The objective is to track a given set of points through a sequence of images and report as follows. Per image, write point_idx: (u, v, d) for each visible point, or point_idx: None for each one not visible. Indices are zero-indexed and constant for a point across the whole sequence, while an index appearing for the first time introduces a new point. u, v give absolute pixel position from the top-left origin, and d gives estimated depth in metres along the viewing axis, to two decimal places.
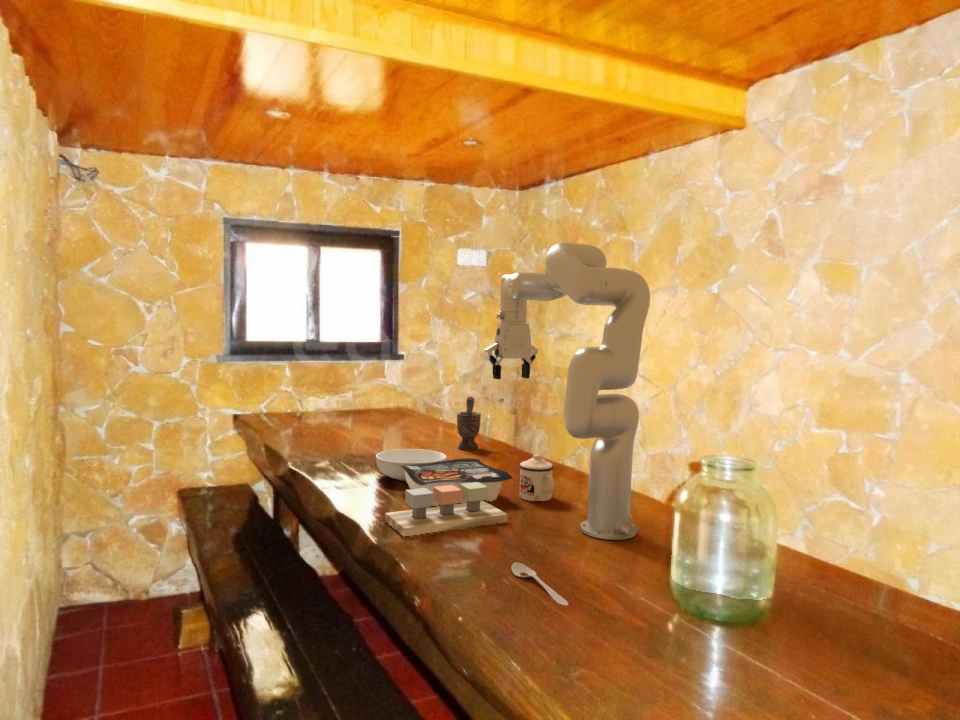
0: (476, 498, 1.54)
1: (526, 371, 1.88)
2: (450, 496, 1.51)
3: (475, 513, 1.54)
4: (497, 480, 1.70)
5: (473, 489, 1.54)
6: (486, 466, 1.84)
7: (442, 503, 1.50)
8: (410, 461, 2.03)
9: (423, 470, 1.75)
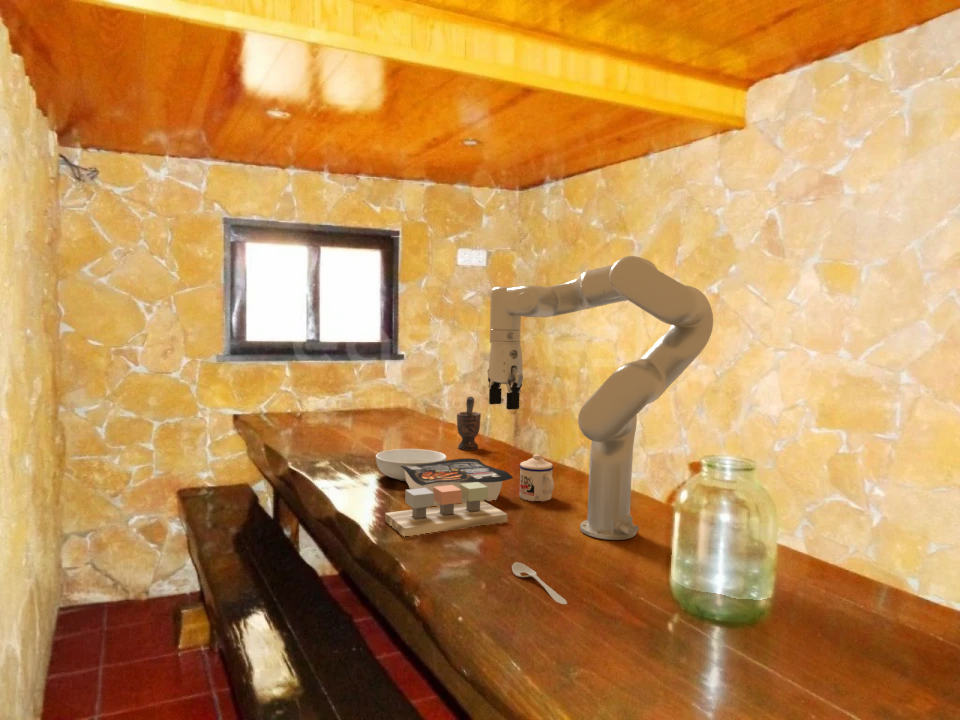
0: (476, 498, 1.54)
1: (499, 396, 1.66)
2: (450, 496, 1.51)
3: (475, 513, 1.54)
4: (497, 480, 1.70)
5: (473, 489, 1.54)
6: (486, 466, 1.84)
7: (442, 503, 1.50)
8: (410, 461, 2.03)
9: (423, 470, 1.75)
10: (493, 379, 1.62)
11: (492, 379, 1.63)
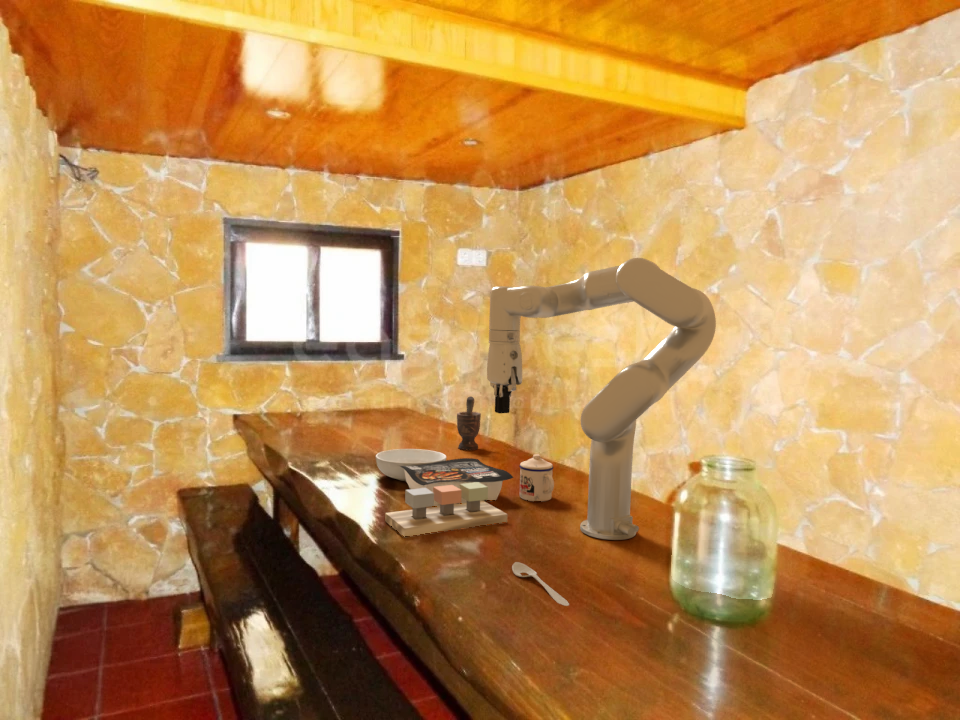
0: (476, 498, 1.54)
1: None
2: (450, 496, 1.51)
3: (475, 513, 1.54)
4: (498, 480, 1.70)
5: (473, 489, 1.54)
6: (486, 466, 1.84)
7: (442, 503, 1.50)
8: (410, 461, 2.03)
9: (423, 470, 1.75)
10: (491, 380, 1.60)
11: (490, 380, 1.61)
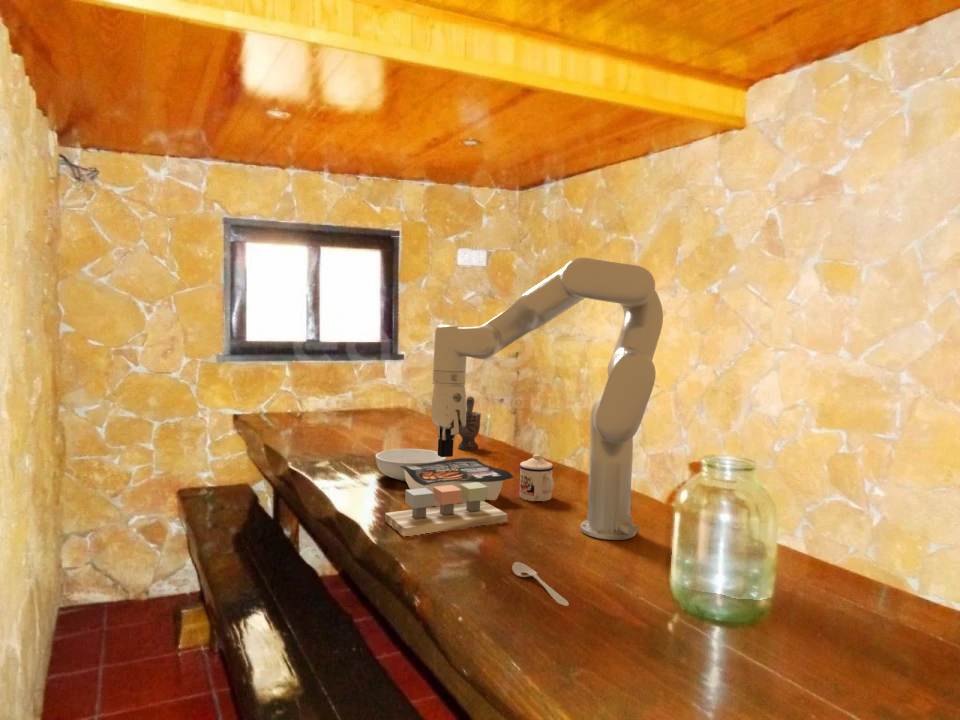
0: (476, 498, 1.54)
1: None
2: (450, 496, 1.51)
3: (475, 513, 1.54)
4: (498, 479, 1.70)
5: (473, 489, 1.54)
6: (485, 465, 1.84)
7: (442, 503, 1.50)
8: (410, 461, 2.03)
9: (424, 470, 1.75)
10: (435, 421, 1.53)
11: (434, 421, 1.54)
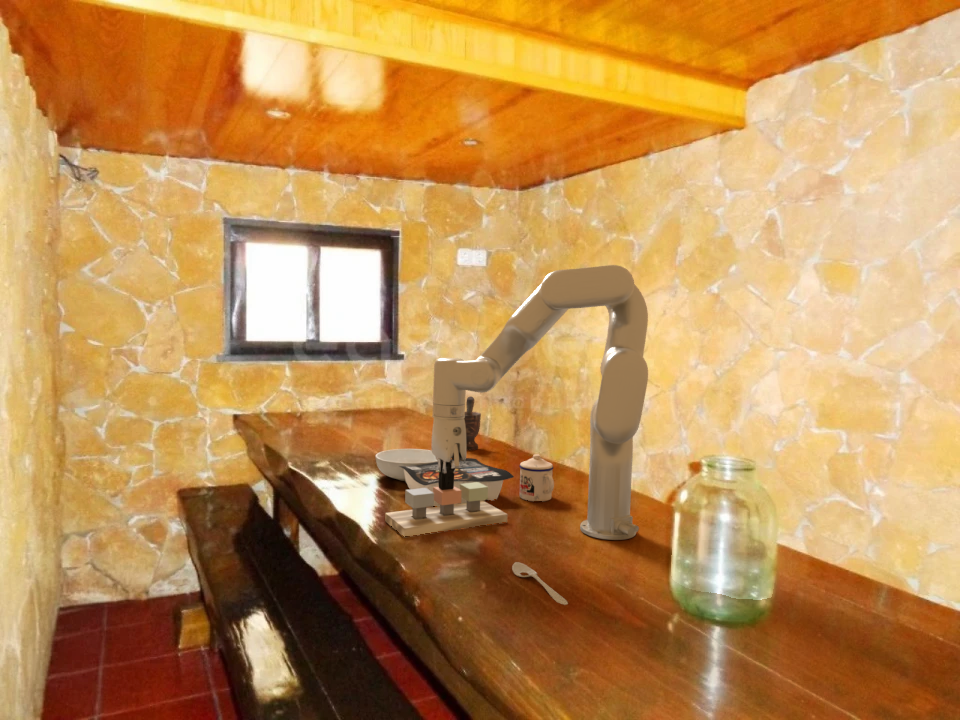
0: (476, 498, 1.54)
1: None
2: (450, 496, 1.51)
3: (475, 513, 1.54)
4: (499, 479, 1.71)
5: (473, 489, 1.54)
6: (485, 465, 1.85)
7: (442, 503, 1.50)
8: (410, 461, 2.03)
9: (424, 470, 1.75)
10: (435, 454, 1.54)
11: (434, 454, 1.54)
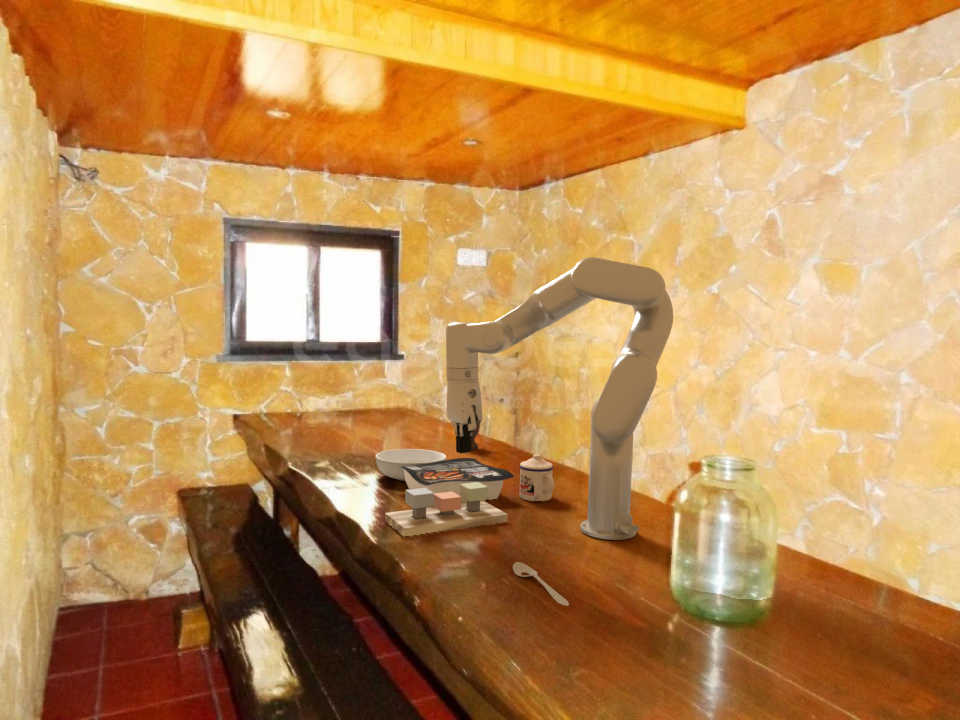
0: (476, 498, 1.54)
1: None
2: (450, 502, 1.51)
3: (475, 513, 1.54)
4: (499, 479, 1.71)
5: (473, 489, 1.54)
6: (484, 465, 1.85)
7: (442, 510, 1.50)
8: (410, 461, 2.03)
9: (424, 470, 1.75)
10: (451, 419, 1.55)
11: (450, 419, 1.56)
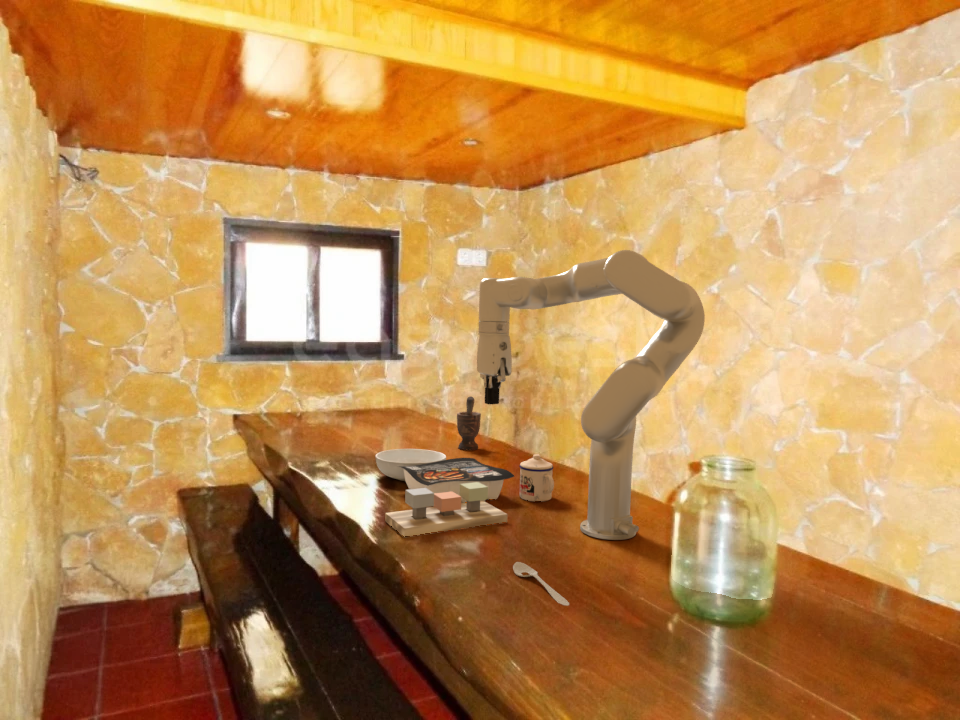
0: (476, 498, 1.54)
1: None
2: (450, 502, 1.51)
3: (475, 513, 1.54)
4: (500, 478, 1.71)
5: (473, 489, 1.54)
6: (484, 465, 1.85)
7: (442, 510, 1.50)
8: (410, 461, 2.03)
9: (424, 470, 1.75)
10: (481, 371, 1.61)
11: (480, 371, 1.62)
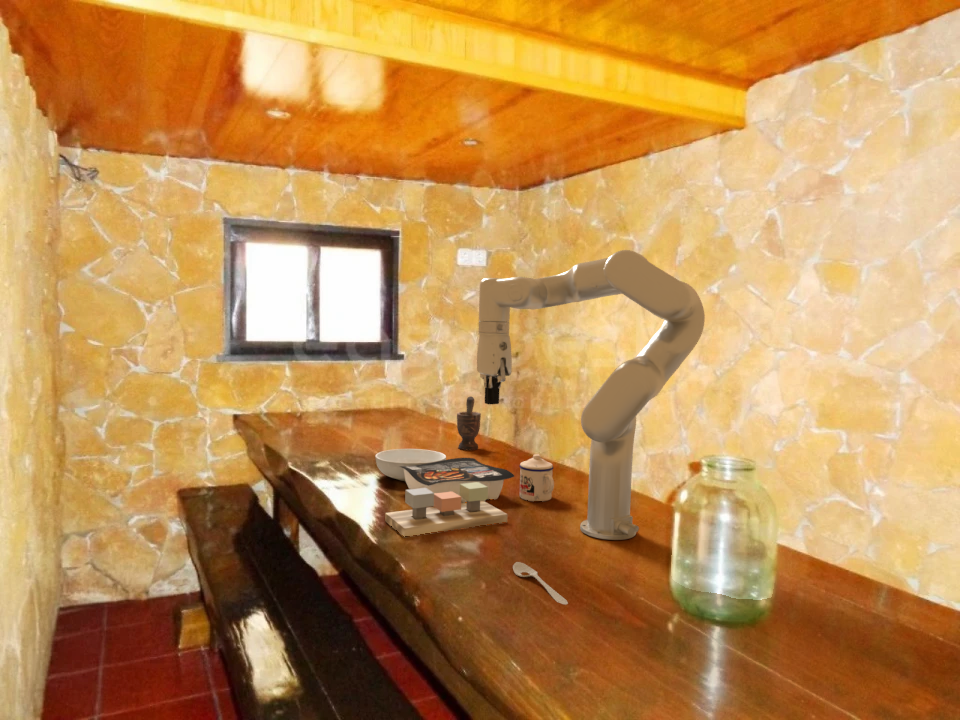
0: (476, 498, 1.54)
1: None
2: (450, 502, 1.51)
3: (475, 513, 1.54)
4: (500, 478, 1.72)
5: (473, 489, 1.54)
6: (484, 465, 1.85)
7: (442, 510, 1.50)
8: (410, 461, 2.03)
9: (424, 470, 1.75)
10: (481, 371, 1.61)
11: (480, 371, 1.62)
